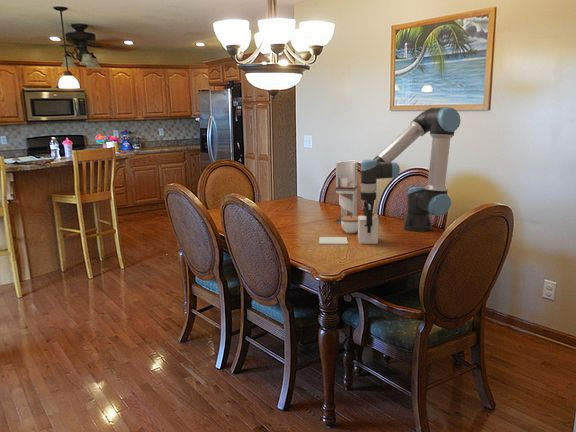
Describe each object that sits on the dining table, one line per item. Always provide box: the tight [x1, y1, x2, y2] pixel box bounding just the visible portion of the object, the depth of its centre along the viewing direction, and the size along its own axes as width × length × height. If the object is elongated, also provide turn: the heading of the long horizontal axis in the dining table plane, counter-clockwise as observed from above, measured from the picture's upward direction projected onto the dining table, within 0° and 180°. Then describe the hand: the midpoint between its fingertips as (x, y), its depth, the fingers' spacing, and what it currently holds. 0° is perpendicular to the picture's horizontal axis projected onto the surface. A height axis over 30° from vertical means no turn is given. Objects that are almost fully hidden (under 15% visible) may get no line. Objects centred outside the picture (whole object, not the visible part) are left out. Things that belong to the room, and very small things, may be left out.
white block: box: [357, 215, 379, 245], centre depth 233 cm, size 9×9×12 cm
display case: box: [335, 160, 358, 225], centre depth 274 cm, size 11×11×35 cm
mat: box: [318, 236, 349, 246], centre depth 235 cm, size 14×12×1 cm
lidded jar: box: [340, 215, 358, 234], centre depth 252 cm, size 11×11×9 cm
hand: (367, 236), depth 234 cm, fingers closed on white block, 9 cm apart
